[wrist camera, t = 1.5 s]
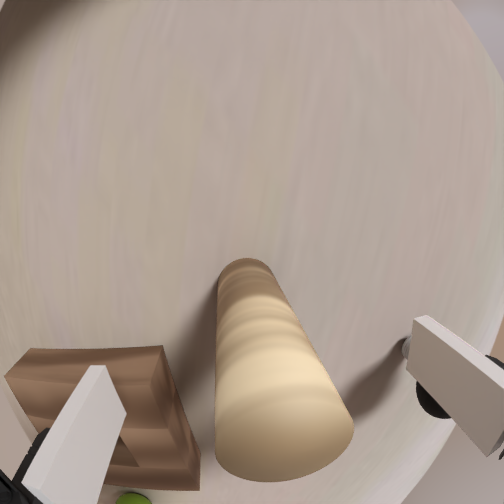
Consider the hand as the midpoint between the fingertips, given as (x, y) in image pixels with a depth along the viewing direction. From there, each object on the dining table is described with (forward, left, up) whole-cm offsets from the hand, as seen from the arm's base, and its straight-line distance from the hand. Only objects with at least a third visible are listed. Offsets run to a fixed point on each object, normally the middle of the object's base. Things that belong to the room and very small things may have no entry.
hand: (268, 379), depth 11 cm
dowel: (0, 0, -10) cm, 10 cm away
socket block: (+11, -14, -10) cm, 20 cm away
